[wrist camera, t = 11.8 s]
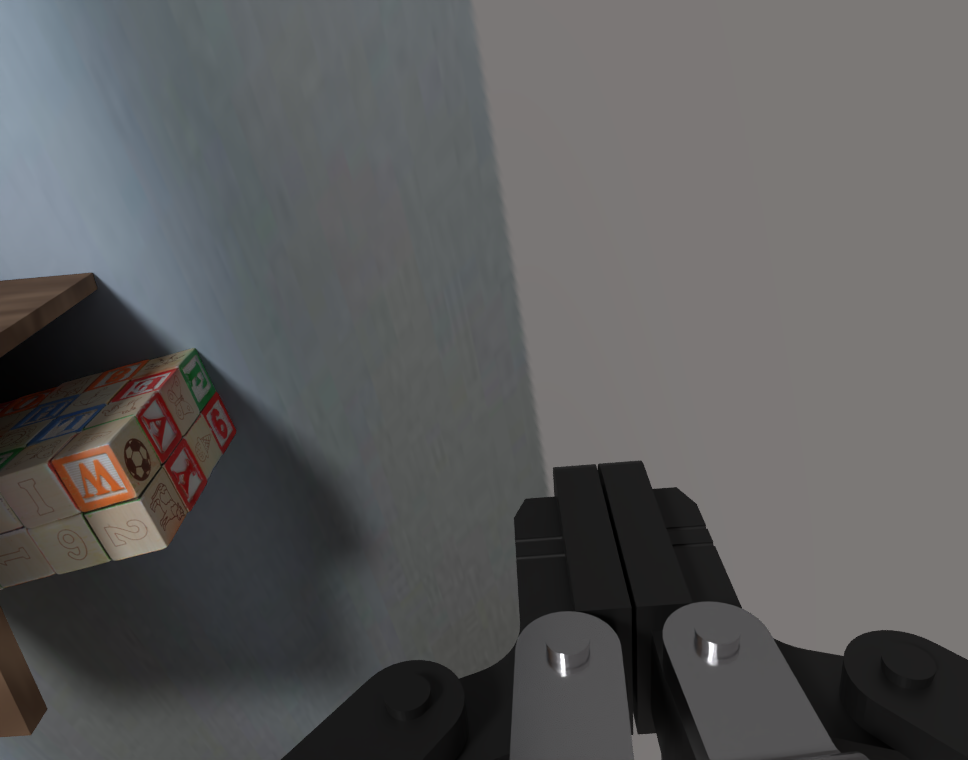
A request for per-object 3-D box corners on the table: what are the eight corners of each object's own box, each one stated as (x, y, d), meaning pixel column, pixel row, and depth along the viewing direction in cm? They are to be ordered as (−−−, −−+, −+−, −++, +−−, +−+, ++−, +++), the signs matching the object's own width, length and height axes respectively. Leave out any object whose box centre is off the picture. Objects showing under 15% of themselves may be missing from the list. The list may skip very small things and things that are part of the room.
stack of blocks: (-53, 509, 52) (-201, 644, 41) (-109, 431, 49) (-283, 552, 38) (240, 430, 49) (168, 551, 38) (197, 343, 47) (107, 445, 36)
